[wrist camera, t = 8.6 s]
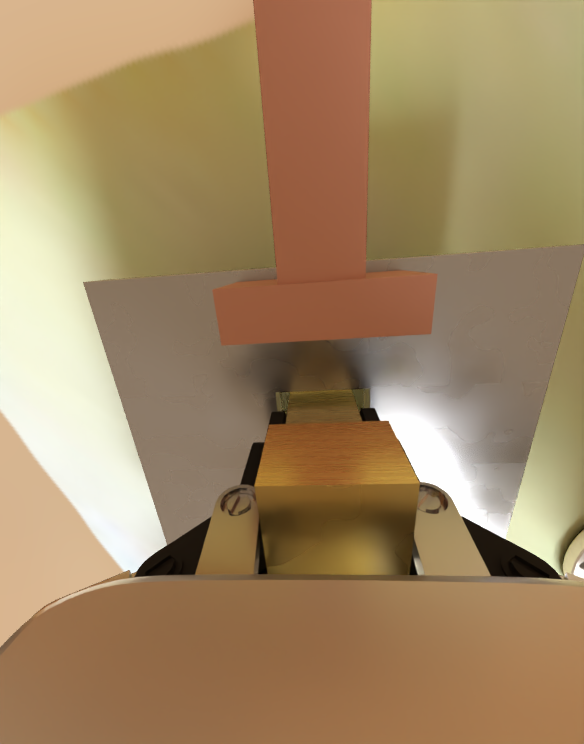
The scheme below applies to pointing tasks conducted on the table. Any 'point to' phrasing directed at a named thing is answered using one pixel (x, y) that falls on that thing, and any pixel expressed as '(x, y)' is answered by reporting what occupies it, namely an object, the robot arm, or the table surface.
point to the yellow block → (335, 491)
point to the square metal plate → (343, 377)
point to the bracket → (319, 189)
